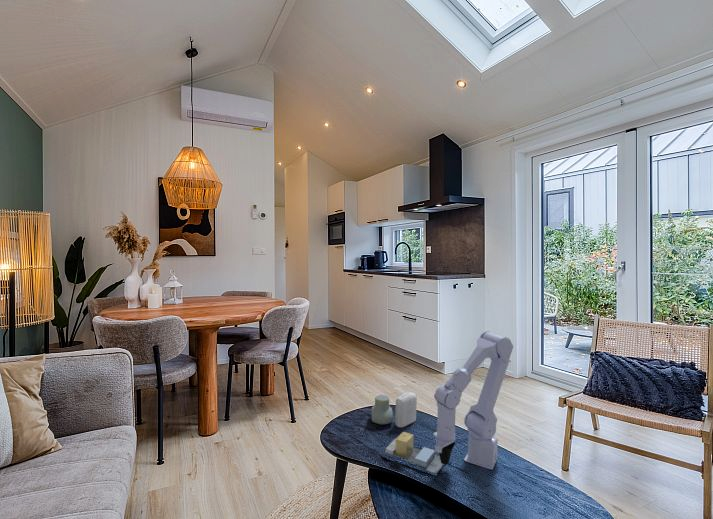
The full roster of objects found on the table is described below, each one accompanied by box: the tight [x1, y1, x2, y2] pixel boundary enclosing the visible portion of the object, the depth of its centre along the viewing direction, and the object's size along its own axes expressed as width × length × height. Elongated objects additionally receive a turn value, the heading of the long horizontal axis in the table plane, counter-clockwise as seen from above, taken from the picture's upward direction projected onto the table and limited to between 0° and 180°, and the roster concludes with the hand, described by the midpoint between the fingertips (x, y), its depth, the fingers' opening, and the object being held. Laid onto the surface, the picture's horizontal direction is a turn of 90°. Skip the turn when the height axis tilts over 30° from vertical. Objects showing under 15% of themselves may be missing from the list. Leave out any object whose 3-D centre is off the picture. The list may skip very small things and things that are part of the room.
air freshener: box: [371, 394, 394, 425], centre depth 163 cm, size 11×8×10 cm
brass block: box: [396, 431, 415, 459], centre depth 138 cm, size 4×6×6 cm, turn 149°
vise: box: [384, 437, 445, 474], centre depth 137 cm, size 20×10×3 cm, turn 59°
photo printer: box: [394, 391, 418, 428], centre depth 162 cm, size 10×4×12 cm, turn 134°
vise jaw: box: [415, 446, 436, 468], centre depth 135 cm, size 4×8×2 cm, turn 149°
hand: (444, 463), depth 131 cm, fingers closed
